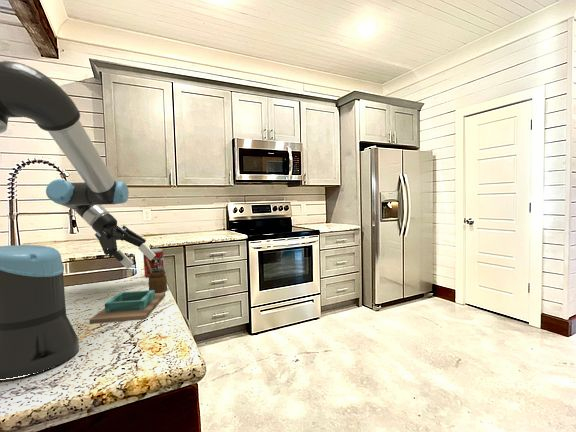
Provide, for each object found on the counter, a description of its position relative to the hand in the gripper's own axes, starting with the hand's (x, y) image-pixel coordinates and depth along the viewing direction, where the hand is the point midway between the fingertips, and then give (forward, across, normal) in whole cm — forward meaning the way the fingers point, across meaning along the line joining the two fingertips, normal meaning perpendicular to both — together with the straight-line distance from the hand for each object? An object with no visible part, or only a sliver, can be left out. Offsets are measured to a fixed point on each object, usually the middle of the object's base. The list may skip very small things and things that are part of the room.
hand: (142, 261), depth 109 cm
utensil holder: (+12, +1, -3) cm, 12 cm away
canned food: (+2, -20, -13) cm, 24 cm away
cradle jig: (+12, +18, -2) cm, 21 cm away
